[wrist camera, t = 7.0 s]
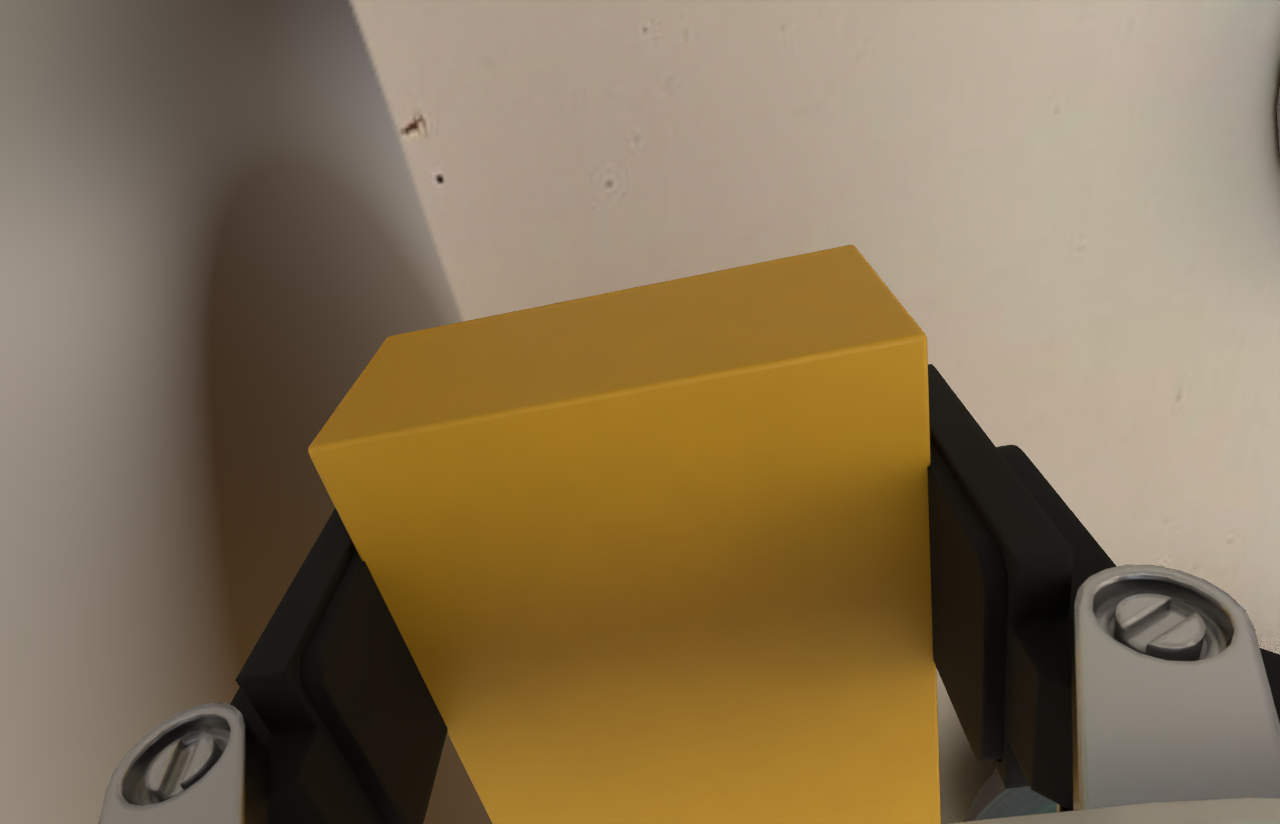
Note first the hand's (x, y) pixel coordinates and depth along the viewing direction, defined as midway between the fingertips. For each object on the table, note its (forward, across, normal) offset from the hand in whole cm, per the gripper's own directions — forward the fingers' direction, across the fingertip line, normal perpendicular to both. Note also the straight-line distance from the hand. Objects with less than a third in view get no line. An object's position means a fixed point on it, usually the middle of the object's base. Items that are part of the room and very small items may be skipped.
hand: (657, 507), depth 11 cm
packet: (+1, 0, +4) cm, 4 cm away
